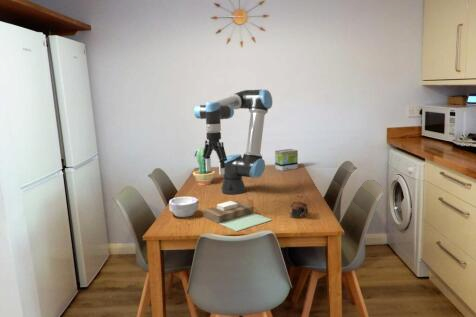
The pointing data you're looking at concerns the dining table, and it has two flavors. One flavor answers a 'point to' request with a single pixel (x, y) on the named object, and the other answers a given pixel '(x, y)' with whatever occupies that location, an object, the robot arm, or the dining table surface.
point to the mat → (245, 222)
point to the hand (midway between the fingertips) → (215, 172)
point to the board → (228, 212)
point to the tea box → (286, 159)
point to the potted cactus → (202, 169)
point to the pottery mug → (298, 209)
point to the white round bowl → (183, 206)
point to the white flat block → (227, 205)
